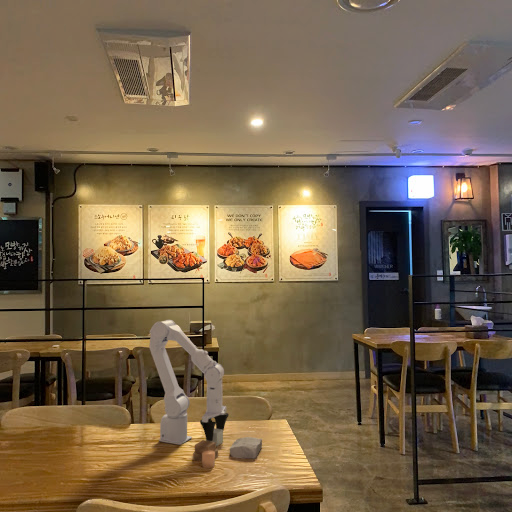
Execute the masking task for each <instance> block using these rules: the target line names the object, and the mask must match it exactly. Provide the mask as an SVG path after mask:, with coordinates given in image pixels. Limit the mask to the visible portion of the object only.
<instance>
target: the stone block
mask: <svg viewBox="0 0 512 512" xmlns="http://www.w3.org/2000/svg"><path fill="white" fill-rule="evenodd" d="M262 446H263V439H262V438H257V437H253V436H246V437H239V438H237V439H236V440H235V441H233V443H232V444H231V446H230V448H229V454H230V456H231V458H235V459H250V460H251V459H253V460H255V459H256V458H257V457H258V455H259V453H260V451H261V450H262V448H263V447H262Z"/></svg>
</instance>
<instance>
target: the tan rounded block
mask: <svg viewBox="0 0 512 512" xmlns="http://www.w3.org/2000/svg"><path fill="white" fill-rule="evenodd" d="M201 466H202V468H204V469H213V468H215V466H216V458H215V452H214V451H211V450H208V451H204V452H202V461H201Z"/></svg>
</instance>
